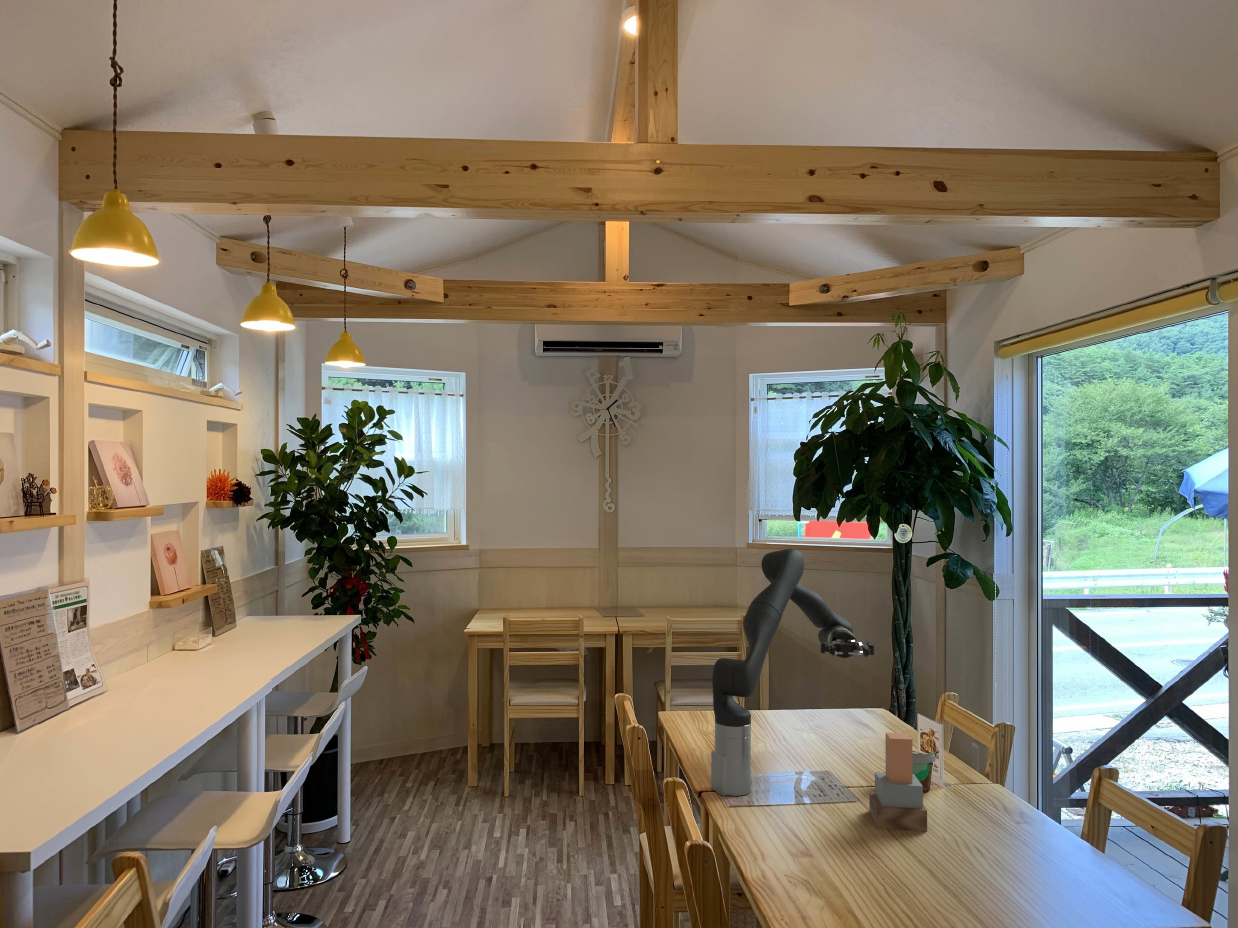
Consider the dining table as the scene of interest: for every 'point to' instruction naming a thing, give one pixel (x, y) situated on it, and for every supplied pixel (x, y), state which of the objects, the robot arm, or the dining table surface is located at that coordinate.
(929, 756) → the food container
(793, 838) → the dining table surface
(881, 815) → the walnut base slab
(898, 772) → the terracotta pillar
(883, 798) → the slate top slab
